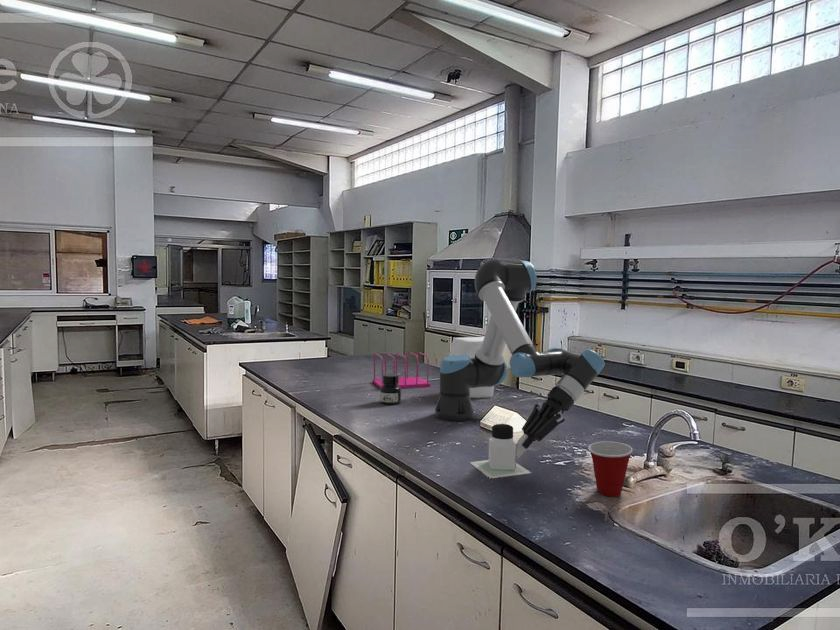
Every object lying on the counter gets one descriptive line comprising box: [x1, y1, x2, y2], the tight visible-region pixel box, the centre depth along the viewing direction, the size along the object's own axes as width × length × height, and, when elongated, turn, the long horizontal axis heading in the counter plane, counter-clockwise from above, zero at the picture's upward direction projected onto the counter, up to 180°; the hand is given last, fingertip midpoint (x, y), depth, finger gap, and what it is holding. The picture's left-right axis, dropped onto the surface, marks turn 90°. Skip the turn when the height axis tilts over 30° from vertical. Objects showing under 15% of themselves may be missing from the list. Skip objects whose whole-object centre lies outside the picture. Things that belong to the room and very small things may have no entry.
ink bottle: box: [379, 373, 402, 405], centre depth 228 cm, size 10×9×12 cm
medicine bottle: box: [488, 423, 517, 470], centre depth 155 cm, size 7×7×12 cm
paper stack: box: [448, 336, 495, 399], centre depth 246 cm, size 21×27×26 cm
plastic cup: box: [587, 441, 634, 497], centre depth 137 cm, size 11×11×12 cm
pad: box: [469, 459, 532, 480], centre depth 154 cm, size 13×13×1 cm
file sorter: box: [371, 351, 431, 389], centre depth 265 cm, size 17×25×16 cm
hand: (514, 454), depth 155 cm, fingers closed
